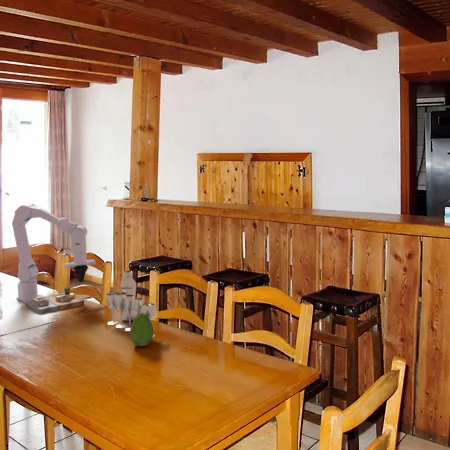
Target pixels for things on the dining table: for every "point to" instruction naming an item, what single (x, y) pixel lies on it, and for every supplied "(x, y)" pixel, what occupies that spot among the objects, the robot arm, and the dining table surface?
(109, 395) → the dining table surface
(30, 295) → the robot arm
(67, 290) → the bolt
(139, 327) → the avocado
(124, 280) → the plastic bottle
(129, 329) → the goblet set
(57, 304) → the two-tone tabbed panel
